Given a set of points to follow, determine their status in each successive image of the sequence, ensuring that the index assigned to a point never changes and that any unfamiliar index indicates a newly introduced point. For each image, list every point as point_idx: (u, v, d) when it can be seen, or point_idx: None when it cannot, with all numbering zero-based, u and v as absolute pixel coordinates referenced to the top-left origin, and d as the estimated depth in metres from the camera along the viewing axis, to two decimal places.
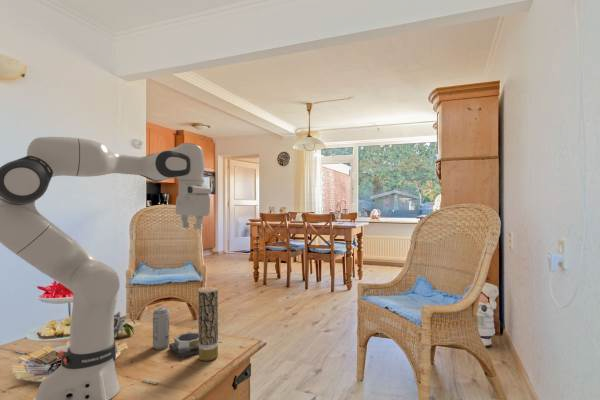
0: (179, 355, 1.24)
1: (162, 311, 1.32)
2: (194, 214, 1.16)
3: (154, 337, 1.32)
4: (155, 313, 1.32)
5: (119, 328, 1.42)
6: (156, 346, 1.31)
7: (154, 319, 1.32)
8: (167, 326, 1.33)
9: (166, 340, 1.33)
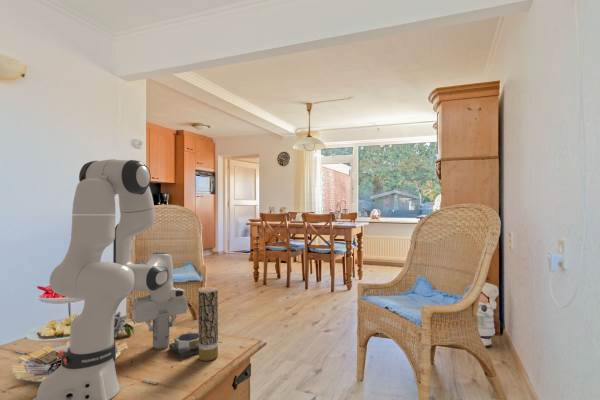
0: (179, 355, 1.24)
1: (162, 311, 1.32)
2: (179, 313, 1.37)
3: (154, 337, 1.32)
4: None
5: (119, 328, 1.42)
6: (156, 346, 1.31)
7: (154, 319, 1.32)
8: (167, 326, 1.33)
9: (166, 340, 1.33)
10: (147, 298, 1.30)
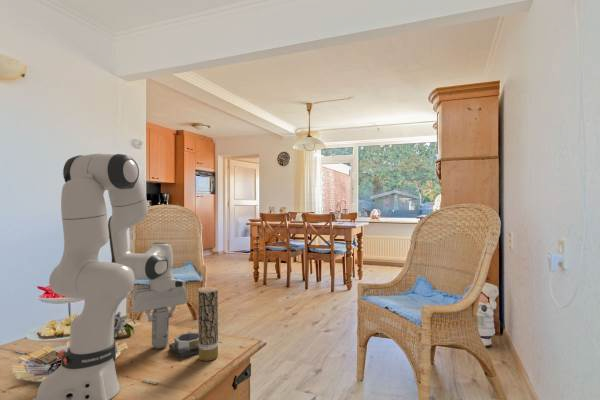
0: (179, 355, 1.24)
1: (161, 310, 1.32)
2: (178, 303, 1.37)
3: (153, 336, 1.31)
4: (154, 312, 1.32)
5: (119, 328, 1.42)
6: (154, 345, 1.31)
7: None
8: (166, 325, 1.33)
9: (165, 340, 1.32)
10: (147, 288, 1.30)
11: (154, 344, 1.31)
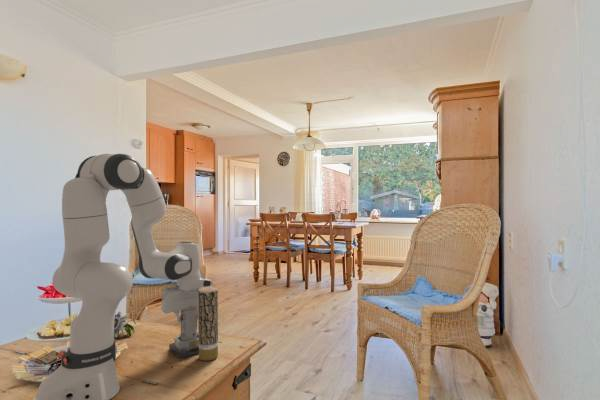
0: (179, 355, 1.24)
1: (190, 308, 1.30)
2: None
3: (182, 334, 1.29)
4: (183, 310, 1.29)
5: (120, 328, 1.42)
6: None
7: (182, 316, 1.29)
8: (195, 323, 1.30)
9: (194, 338, 1.30)
10: (175, 288, 1.28)
11: None
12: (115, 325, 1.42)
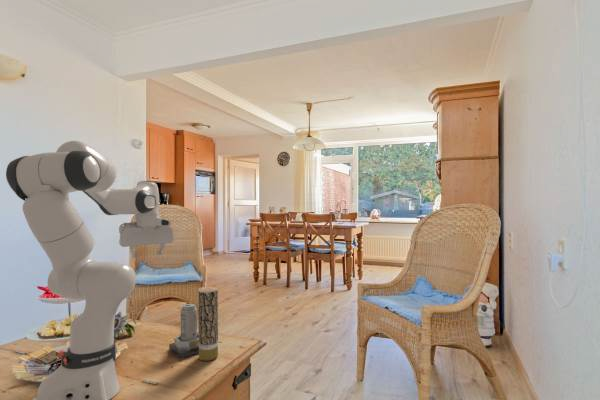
0: (179, 355, 1.24)
1: (190, 308, 1.30)
2: (165, 242, 1.41)
3: (182, 334, 1.29)
4: (183, 310, 1.29)
5: (120, 328, 1.42)
6: None
7: (182, 316, 1.29)
8: (195, 323, 1.30)
9: (194, 338, 1.30)
10: (133, 224, 1.34)
11: None
12: (115, 325, 1.42)
